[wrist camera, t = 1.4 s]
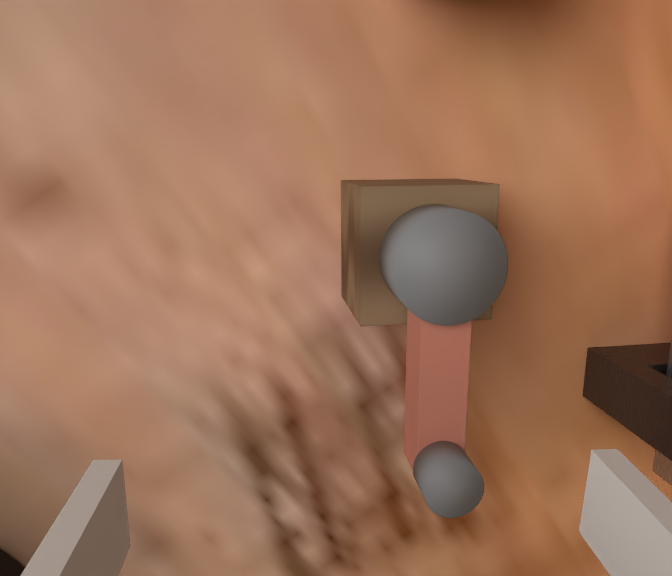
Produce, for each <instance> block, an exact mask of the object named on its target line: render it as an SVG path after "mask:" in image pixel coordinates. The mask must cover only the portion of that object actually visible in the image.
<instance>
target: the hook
mask: <svg viewBox="0 0 672 576" xmlns="http://www.w3.org/2000/svg"><path fill="white" fill-rule="evenodd" d="M666 376H667V377H669V378H671V379H672V340H671V347H670V353H669V360H668V367H667V374H666ZM653 472H655V473H656V474H657V475H659V476H660V477H661V478H662V479H664V480H665V481H666V482H667V483H669V484H670V485H671V486H672V461H671V460H670V459H668V458H667V457H665V456H664V455H663V454H661V453H660V452H659V451H657V450H655V457H654V464H653Z"/></svg>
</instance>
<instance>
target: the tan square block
mask: <svg viewBox="0 0 672 576" xmlns="http://www.w3.org/2000/svg"><path fill="white" fill-rule="evenodd" d="M499 185H500V184H493V183H485V182H477V181H470V180H462V179H404V180H341V246H342V297H343V299H344V301H345V302H346V304H347V305H348V307H349V309H350V310H351V312H352V313H353V315H354V317H355V318H356V320H357V321H358V323H359V325H360V326H373V325H392V324H407V312H408V309H407V308H406V307H405V306H404V305H403V304H402V302H401V301H400V300H399V299H398V298H397V297H396V296H395V295H394V294H393V293H392V292H391V291H390V290H389V289H388V287H387V286H386V284H385V282H384V280H383V277H382V274H381V271H380V264H379V255H380V248H381V244H382V241H383V238H384V236H385V234H386V232H387V231H388V229H389V228H390V226H391V225H392V224H393V223H394V221H395V220H397V219H398V218H399V217H400V216H401V215H402V214H404V213H405V212H407V211H409V210H411V209H413V208H415V207H418V206H422V205H427V204H440V205H446V206H449V207H453V208H457V209H460V210H464V211H468V212H471V213H474V214H477V215H479V216H481V217H483V218H484V219H486V220H487V221H488V222H490V223H491V224H492V225H493V226H494V227H495V228H496V230H497V217H498V201H499ZM491 313H492V305H491V306H490V308H488V309H487V310H486V311H485V312H484V313H483V314H481V315H480V316H478V317H477V318H475V319H473V320H488V319H491Z"/></svg>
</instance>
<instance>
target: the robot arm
mask: <svg viewBox="0 0 672 576" xmlns="http://www.w3.org/2000/svg"><path fill="white" fill-rule="evenodd" d="M579 532H580V534H581V535H582V537H583V538H584V539H585V541H586V542H587V544H588V545H589V546H590V548H591V549H592V551H593V552H594V553H595V555H596V556H597V558H598V559H599V560H600V562H601V563H602V565H603V566H604V567H605V569H606V570H607V572H608V573H609V574H610V576H672V502H671V501H670V500H669V499H668V498H667V497H666V496H665V495H664V494H663V493H662V492H661V491H660V490H659V489H658V488H657V487H656V486H655V485H654V484H653V483H652V482H651V481H650V480H649V479H647V478H646V477H645V476H644V475H643V474H642V473H641V472H640V471H639V470H638V469H637V468H636V467H635V466H634V465H633V464H632V463H631V462H630V461H629V460H628V459H627V458H626V457H625V456H624V455H623V454H622V453H621V452H620V451H619V450H618V449H599V450H592V451H591V457H590V463H589V470H588V476H587V482H586V489H585V495H584V501H583V508H582V514H581V520H580V527H579ZM129 547H130V537H129V527H128V516H127V505H126V495H125V484H124V473H123V463H122V460H93V461H92V463H91V464H90V466H89V467H88V469H87V470H86V472H85V474H84V475H83V477H82V478H81V480H80V482H79V483H78V485H77V486H76V488H75V490H74V491H73V493H72V494H71V496H70V498H69V499H68V501H67V502H66V504H65V505H64V507H63V509H62V510H61V512H60V513H59V515H58V517H57V518H56V520H55V521H54V523H53V525H52V526H51V528H50V529H49V531H48V533H47V534H46V536H45V537H44V539H43V540H42V542H41V544H40V545H39V547H38V548H37V550H36V552H35V553H34V555H33V556H32V558H31V560H30V561H29V563H28V564H27V566H26V568H25V569H23V568H22V567H21V566H20V565H19V564H18V563H17V562H16V561H15V560H13V559H12V558H11V557H9V556H8V555H7V554H5V553H4V552H2V551H0V576H118V575H119V572H120V570H121V567H122V565H123V562H124V560H125V557H126V555H127V552H128V550H129Z"/></svg>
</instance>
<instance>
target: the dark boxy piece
mask: <svg viewBox="0 0 672 576" xmlns="http://www.w3.org/2000/svg"><path fill="white" fill-rule="evenodd" d="M670 347H671V343H660V344H643V345H627V346H611V347H594V348H588V352H587V361H586V371H585V380H584V389H583V396H584V397H585V398H587V399H588V400H589V401H591V402H592V403H593V404H595V405H596V406H597V407H599V408H600V409H602V410H603V411H604V412H606V413H607V414H608V415H610V416H611V417H612V418H614V419H615V420H616V421H618V422H619V423H621V424H622V425H623V426H625V427H626V428H627V429H629V430H630V431H631V432H633V433H634V434H636V435H637V436H638V437H640V438H641V439H642V440H644V441H645V442H646V443H648V444H649V445H650V446H652V447H653V448H655V449H656V450H657V451H659V452H660V453H661V454H663V455H664V456H665V457H667V458H668V459H670V460H671V461H672V379H671V378H669V377H667V376H666V374H667V367H668V360H669V353H670Z"/></svg>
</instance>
